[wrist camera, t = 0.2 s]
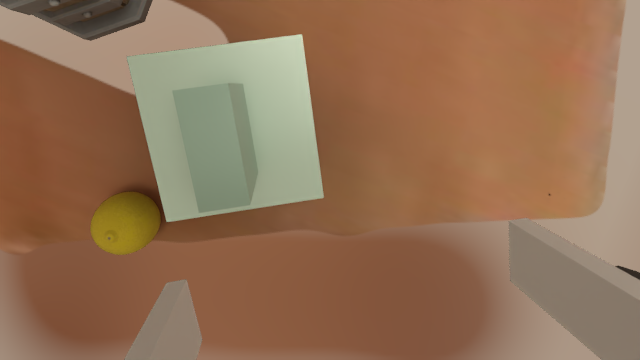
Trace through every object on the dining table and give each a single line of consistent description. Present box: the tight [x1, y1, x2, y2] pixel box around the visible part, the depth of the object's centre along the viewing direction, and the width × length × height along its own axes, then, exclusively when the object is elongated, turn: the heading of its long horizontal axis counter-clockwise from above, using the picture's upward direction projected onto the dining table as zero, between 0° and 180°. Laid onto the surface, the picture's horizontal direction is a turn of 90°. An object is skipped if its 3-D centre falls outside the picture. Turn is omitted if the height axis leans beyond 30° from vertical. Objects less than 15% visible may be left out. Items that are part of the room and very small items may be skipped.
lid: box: [127, 34, 324, 222], centre depth 27 cm, size 13×13×11 cm
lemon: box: [90, 192, 160, 255], centre depth 37 cm, size 6×6×8 cm
